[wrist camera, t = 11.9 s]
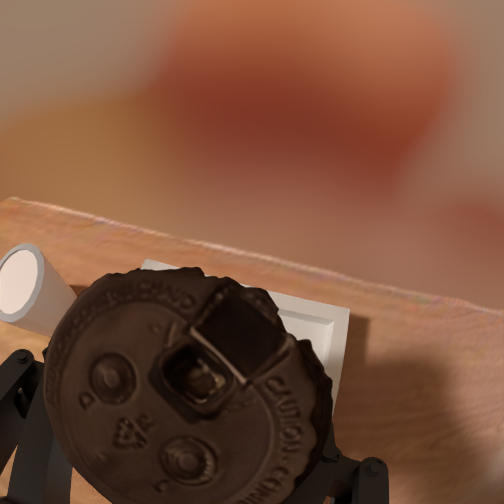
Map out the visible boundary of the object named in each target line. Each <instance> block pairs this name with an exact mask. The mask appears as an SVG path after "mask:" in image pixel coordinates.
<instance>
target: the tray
mask: <svg viewBox="0 0 504 504" xmlns="http://www.w3.org/2000/svg"><path fill="white" fill-rule="evenodd" d="M142 269H148V270H149V269H152V270H166V269H179V267H175V266H172V265H168V264H165V263H161V262H157V261H154V260H150V259H147V258H146V259H145V261H144V263H143V265H142V268H141V270H142ZM204 275H205V274H204ZM205 276H209V275H205ZM239 284H240V283H239ZM240 285H242V286H244V287H252V286H248V285H244V284H240ZM266 291H267V292H268V293H269V295H270V296H271V298H272V299H273V301H274V303H275V304H276V306H277V307H278V308H279V311H278V315H279V316H280V317H281V319H282V321H283V325H284V327H285V329H286V331H287V332H288V333H291V334H293V335H294V336H295V337H296V339H297V340H302V339H309V340H310V341H311V342H312V348H313V350H314V352H315V353H316V355H317V357H318V359H319V360H320V362H321V363H322V365H323V366H324V370H325V373H326V374H327V376H328V377H330V378H331V379H332V380H333V387H332V399H333V412H332V417H333V413H334V408H335V403H336V398H337V393H338V388H339V383H340V377H341V371H342V365H343V359H344V352H345V346H346V338H347V330H348V322H349V313H350V309H347V308H343V307H338V306H333V305H329V304H324V303H320V302H315V301H311V300H306V299H302V298H298V297H293V296H289V295H285V294H281V293H276V292H272V291H268V290H266Z"/></svg>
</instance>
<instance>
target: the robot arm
mask: <svg viewBox="0 0 504 504" xmlns="http://www.w3.org/2000/svg"><path fill="white" fill-rule="evenodd" d="M47 348H48V347H47ZM47 348H45V349H44V350H43V351H42V353H43V357H44V360H45V354H46V351H47ZM43 367H44V363H42V362H39V361H36V360H35V359H34V356H33V354H32V353H31V352H30V351H29V350H26V349H19V350H16V351H15V352H13V353H12V354H11V355H10V356H9V357H8V358H7V359H6V360H5V361H4V362H3V363H2V364H1V365H0V475H1V473H2V471H3V469H4V468H5V466H6V464H7V462H8V460H9V459H10V457H11V455H12V453H13V452H14V450H15V448H16V446H17V445H18V446H17V450H16V454H15V458H14V462H13V467H12V472H11V477H10V482H9V488H8V493H7V496H6V497H4V498H1V499H0V504H70V490H71V477H72V468H73V466H72V465H71V464H70V463H69V462H68V461H67V459H66V457H65V455H64V453H63V452H62V450H61V447H60V445H59V443H58V441H57V439H56V437H55V435H54V433H53V431H52V428H51V426H50V423H49V419H48V415H47V412H46V408H45V405H44V401H43V391H42V388H43ZM20 388H21V389H20ZM19 389H20V390H19ZM326 496H329V497H331V500H330V504H389V478H388V468H387V465H386V464H385V462H384V461H382V460H381V459H379V458H375V457H368V458H366V459H364V460H363V461H362V462H360V461H357V460H353V459H350V458H347V457H345V456H343V455H342V453H341V451H340V450H339V449H338V448H337V447H336V445H335V439H334V430H333V423H332V421H331V427H330V431H329V435H328V438H327V441H326V443H325V446H324V449H323V454H322V456H321V459H320V460H319V462H318V464H317V465H316V467H315V468H314V470H313V471H312V472H311V474H310V475H309V476H308V477H307V478H306V479H305V481H304V482H303V483H302V484H301V485H300V486H299V487H298V488H297V489H296V490H295V492H294V493H293V494H292V495H291V496H290V497H289V498H288V499H287V500H285V501H284V502H283V503H282V504H323V502H324V500H325V498H326Z"/></svg>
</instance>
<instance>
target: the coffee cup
mask: <svg viewBox="0 0 504 504" xmlns="http://www.w3.org/2000/svg"><path fill="white" fill-rule="evenodd" d="M278 311H279V308H278V307H277V306H276V304H275V303H274V301H273V299H272V298H271V296H270V295H269V293H268V292H267V291H266V290H264V289H261V288H256V287H244V286H242V285H240V284H239V283H238V282H237V281H235V280H233V279H231V278H229V277H223V278H218V277H217V276H205V275H204V273H203V271H202V270H201V268H199V267H192V268H190V267H183V268H179V269H166V270H152V269H149V270H148V269H142V270H141V269H140V268H137V269H135V270H132V271H129V272H128V273H125V274H121V273H114V274H111V273H108V274H106V275H104V276H103V277H101V278H99V279H97V280H96V281H94V282H93V284H92V285H91V286H90V287H89V288H88V289H85V290H83V292H82V293H81V294H80V295H79V297H78V298H77V299H76V300H75V301H74V302H73V304H72V306H71V307H70V308H69V309H68V310H67V312H66V313H65V315H64V316H63V318H62V319H61V321H60V322H59V324H58V325H57V327H56V329H55V330H54V333H53V335H52V337H51V340H50V342H49V345H48V348H47V351H46V354H45V360H44V367H43V388H42V391H43V401H44V405H45V408H46V412H47V415H48V419H49V423H50V426H51V428H52V431H53V433H54V435H55V437H56V439H57V441H58V443H59V445H60V447H61V450H62V452H63V453H64V455H65V457H66V459H67V461H68V462H69V463H70V464H71V465H72V466H73V467H74V468H75V470H76V471H77V472H78V473H79V474H80V475H81V476H82V477H83V478H84V479H85V480H86V481H87V482H88V483H89V484H91V485H92V486H93V487H94V488H95V489H96V490H97V491H98V492H99V493H100V494H101V495H102V496H104V497H105V498H106V499H107V500H109V501H110V502H111V503H112V504H282V503H283V502H284V501H285V500H287V499H288V498H289V497H290V496H291V495H292V494H293V493H294V492H295V490H296V489H297V488H298V487H299V486H300V485H301V484H302V483H303V482H304V481H305V479H306V478H307V477H308V476H309V475H310V474H311V472H312V471H313V470H314V468H315V467H316V465H317V464H318V462H319V460H320V459H321V456H322V454H323V449H324V446H325V443H326V441H327V438H328V435H329V431H330V427H331V421H332V412H333V399H332V387H333V380H332V379H331V378H330V377H328V376H327V374H326V373H325V370H324V366H323V365H322V363H321V362H320V360H319V359H318V357H317V355H316V353H315V352H314V350H313V348H312V342H311V341H310V340H309V339H302V340H297V339H296V337H295V336H294V335H293V334H291V333H288V332H287V331H286V329H285V327H284V325H283V321H282V319H281V317H280V316H279V315H278Z"/></svg>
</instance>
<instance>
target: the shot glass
mask: <svg viewBox="0 0 504 504" xmlns="http://www.w3.org/2000/svg"><path fill="white" fill-rule="evenodd" d="M76 299H77V295H76V294H75V292H74V291H73V289H72V288H71V287H70V286H69V285H68V284H67V282H66V281H65V280H64V279H63V278H62V277H61V275H60V274H59V273H58V272H57V271H56V270H55V268H54V267H53V266H52V265H51V263H50V262H49V261H48V260H47V258H46V257H45V256H44V255H43V253H42V252H41V251H40V249H39V248H38V247H36V246H34V245H32V244H31V243H26V244H19V245H18V246H16V247H14V248H13V249H11V250H10V251H9V252H8V253H7V254H6V255H5V256H4V258H3V259H2V260H1V261H0V319H1V320H2V321H3V322H6V323H8V324H11V325H14V326H17V327H19V328H22V329H25V330H28V331H31V332H34V333H37V334H40V335H43V336H47V337H50V338H51V337H52V335H53V333H54V330H55V329H56V327H57V325H58V324H59V322H60V321H61V319H62V318H63V316H64V315H65V313H66V312H67V310H68V309H69V308H70V307H71V306H72V304H73V302H74V301H75V300H76Z"/></svg>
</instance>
